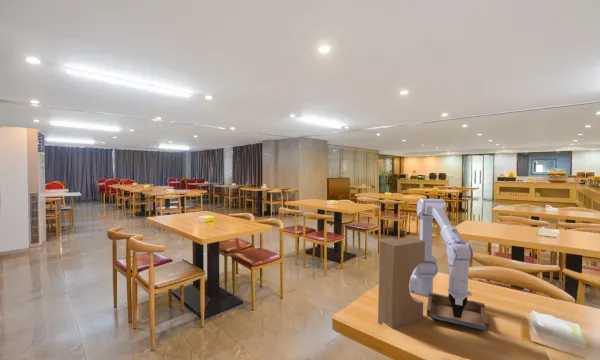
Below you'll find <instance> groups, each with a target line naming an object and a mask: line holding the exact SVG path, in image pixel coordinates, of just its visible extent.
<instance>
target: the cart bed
mask: <svg viewBox="0 0 600 360" xmlns="http://www.w3.org/2000/svg"><path fill="white" fill-rule="evenodd" d="M427 297H428V298H427V299H428V300H427V306H426V317H429V318H431V314H435V315H439V316H443V317H448V318H452V319H456V320H461V321H465V322H470V323H474V324H478V325H483V326H486V330H485V331H487V332H489V331H490V321H489V318H488V314H487V311H486V308H485V306H486V304H485V302H481V301H475V300H471V299H470V300H469V299H467V300H468V302H467V304H466V305H465V307H464V309H463V312H462V316H461V318H457V317H454V315H453V310H452V305H451V302H450V300H449V295H446V294H445V295H444V294H441V293H440V294H439V293H435V292H433V293H430V292H429V296H427Z"/></svg>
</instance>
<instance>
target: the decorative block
mask: <svg viewBox="0 0 600 360" xmlns="http://www.w3.org/2000/svg"><path fill="white" fill-rule="evenodd" d="M378 253H379V254H378V255H379V260H378V298H377V299H378V304H377V309H378V310H377V323H378V324H379V325H380V326H383V324H385V325H386V326H387V327H389V328H391V329H392V330H394V329H397V328H401V327H403V326H406V325H409V324H411V323H412V324H413V323H415V322H418V321H421V320H423V319H424V318H423V317H424V302H423V301H422V300H420V299H417V298H416V297H414V296H412V295H411V292H410V290H409V286H410V277H411V275H412V273H413V271H414V269H415V268H416V267H417V266H418V265H419V264H420V263H422V262H424V260H425V241H423V240H420V238H415V237H413V236H412V237H411V236H408V237H400V238H393V239H392V238H391V239H386V240H380V241H379V252H378Z"/></svg>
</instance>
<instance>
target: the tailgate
mask: <svg viewBox="0 0 600 360" xmlns="http://www.w3.org/2000/svg"><path fill="white" fill-rule="evenodd" d="M430 318H431V319H435V320H439V321H443V322H449V323H452V324H457V325H460V326H465V327H469V328H473V329H478V330H483V331H487V330H486V326H483V325H478V324H474V323H470V322H465V321H461V320H456V319H452V318H448V317H443V316H439V315H435V314H431V315H430Z"/></svg>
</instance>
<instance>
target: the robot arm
mask: <svg viewBox="0 0 600 360" xmlns="http://www.w3.org/2000/svg"><path fill="white" fill-rule="evenodd" d="M416 216H417V217H419V240H423V241H425V260H424V262H422V263H420V264H419V265H418V266H417V267H416V268H415V269H414V271H413V273H412V275H411V277H410V283H409V290H410V293H413V294H417V295H420V296H425V297H429V292H430V293H434V288H433V287H434V278H435V277H436V276H437V275H438V272H439V265H438V259H437V258H436V257H435V256H434V255H432V250H433V248H432V247H433V246H432V245H433V244H432V243H433V220H435V221H436V222H437V224H438V226H439V227H440V229H441V230H440V236H441V237H442V240H443V242H444V244H445V246H446V250H445V252H446V257H447V263H448V264H449V266H448V267H449V270H448V288H447V292H448V296H449V300H450V302H451V305H452V310H453V315H454V317H457V318H461V316H462V312H463V309H464V307H465V305H466V304H467V302H468V300H469V299H468V296H470V297H471V296H472V295H473V294H472V291H470V290H469V269H470V268H469V263H470V261H471V260H472V259H473V257H474V250H473V247H472V245H471V244H470V243H469V242H467V240H464V239H463V237H462V235H461V234H460V232H459V230H458V229H457V227H456V226H453V225H452V224H451V221H450V219H449V217H448V214H447V203H446V201H445V199H444V198H421V197H420V198H419V199H418V201H417V202H416ZM468 290H469V291H468Z"/></svg>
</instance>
